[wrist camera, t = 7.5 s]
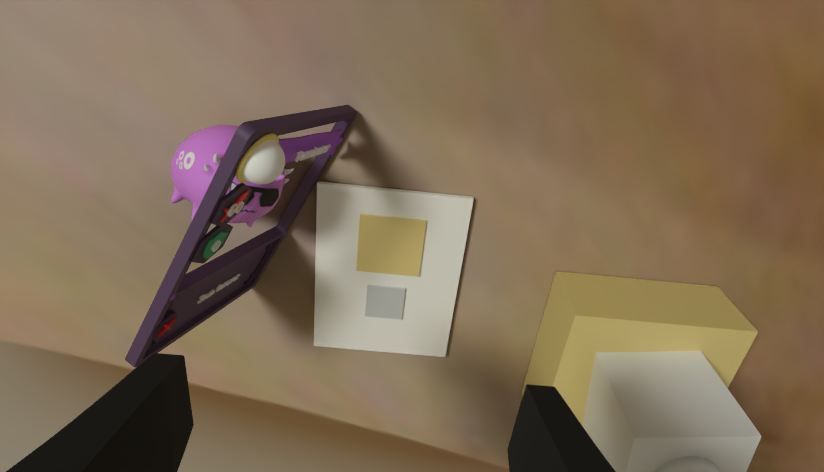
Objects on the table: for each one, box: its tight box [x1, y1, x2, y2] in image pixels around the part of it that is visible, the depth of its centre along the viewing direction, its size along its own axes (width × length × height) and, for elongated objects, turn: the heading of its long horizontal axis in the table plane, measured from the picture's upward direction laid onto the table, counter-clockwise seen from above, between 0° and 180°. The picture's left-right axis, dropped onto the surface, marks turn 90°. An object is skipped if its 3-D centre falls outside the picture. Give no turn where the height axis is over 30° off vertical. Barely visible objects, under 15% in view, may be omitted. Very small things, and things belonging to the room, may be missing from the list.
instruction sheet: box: [314, 181, 474, 357], centre depth 22 cm, size 6×8×1 cm
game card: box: [125, 105, 357, 367], centre depth 17 cm, size 7×5×9 cm
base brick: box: [521, 271, 758, 425], centre depth 22 cm, size 7×7×3 cm
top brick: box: [582, 351, 762, 472], centre depth 19 cm, size 4×4×5 cm
